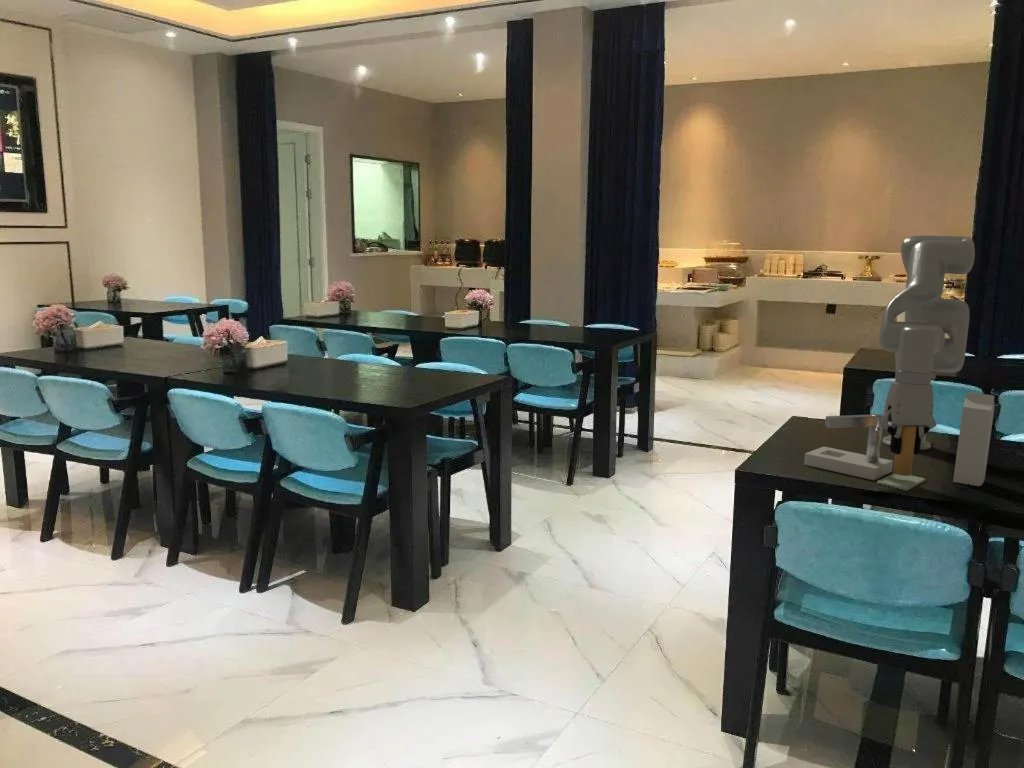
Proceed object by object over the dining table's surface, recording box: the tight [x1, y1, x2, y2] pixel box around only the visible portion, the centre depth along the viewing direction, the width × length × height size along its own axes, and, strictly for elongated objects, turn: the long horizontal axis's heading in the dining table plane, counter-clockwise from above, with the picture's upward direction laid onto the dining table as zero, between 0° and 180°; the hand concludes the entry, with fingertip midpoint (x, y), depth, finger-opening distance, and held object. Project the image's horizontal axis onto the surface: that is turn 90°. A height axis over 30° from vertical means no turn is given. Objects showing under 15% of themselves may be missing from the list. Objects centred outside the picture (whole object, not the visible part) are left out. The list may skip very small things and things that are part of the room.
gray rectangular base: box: [803, 446, 894, 481], centre depth 207 cm, size 11×18×3 cm, turn 45°
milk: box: [952, 392, 995, 487], centre depth 196 cm, size 6×6×22 cm
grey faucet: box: [824, 413, 884, 462], centre depth 200 cm, size 3×16×12 cm, turn 105°
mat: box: [876, 472, 926, 492], centre depth 196 cm, size 12×7×1 cm, turn 135°
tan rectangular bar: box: [892, 426, 917, 476], centre depth 195 cm, size 4×4×12 cm
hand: (904, 452), depth 195 cm, fingers closed on tan rectangular bar, 4 cm apart
